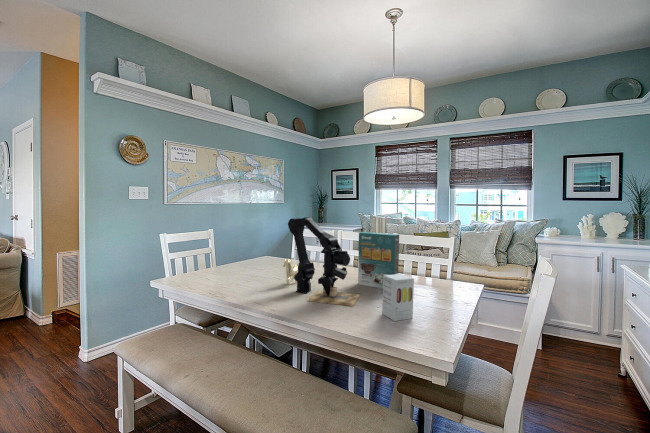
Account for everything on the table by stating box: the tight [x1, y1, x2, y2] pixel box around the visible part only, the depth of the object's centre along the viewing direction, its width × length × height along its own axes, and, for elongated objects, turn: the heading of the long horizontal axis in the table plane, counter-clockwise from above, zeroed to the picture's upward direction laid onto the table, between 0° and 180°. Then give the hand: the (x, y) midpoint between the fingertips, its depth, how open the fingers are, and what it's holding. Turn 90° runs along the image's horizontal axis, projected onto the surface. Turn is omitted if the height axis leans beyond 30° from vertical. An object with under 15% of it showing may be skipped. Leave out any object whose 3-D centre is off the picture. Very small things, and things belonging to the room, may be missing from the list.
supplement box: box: [381, 273, 415, 322], centre depth 129 cm, size 10×9×17 cm
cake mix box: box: [357, 231, 400, 289], centre depth 175 cm, size 22×6×30 cm, turn 58°
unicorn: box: [282, 258, 299, 286], centre depth 177 cm, size 20×4×17 cm, turn 156°
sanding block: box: [322, 286, 338, 297], centre depth 152 cm, size 6×4×4 cm, turn 73°
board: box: [307, 290, 360, 307], centre depth 151 cm, size 22×14×1 cm, turn 73°
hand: (329, 294), depth 152 cm, fingers closed on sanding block, 4 cm apart
